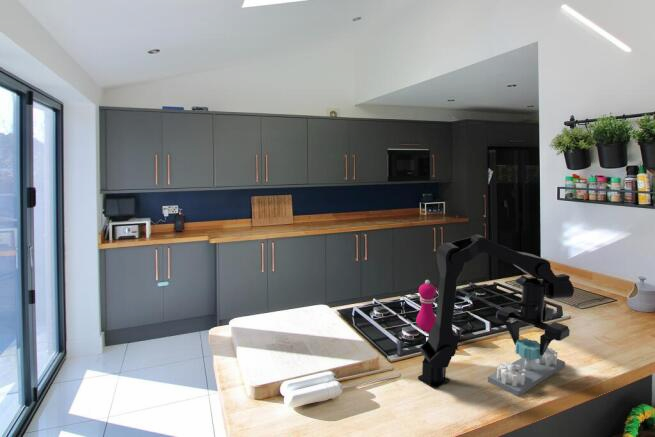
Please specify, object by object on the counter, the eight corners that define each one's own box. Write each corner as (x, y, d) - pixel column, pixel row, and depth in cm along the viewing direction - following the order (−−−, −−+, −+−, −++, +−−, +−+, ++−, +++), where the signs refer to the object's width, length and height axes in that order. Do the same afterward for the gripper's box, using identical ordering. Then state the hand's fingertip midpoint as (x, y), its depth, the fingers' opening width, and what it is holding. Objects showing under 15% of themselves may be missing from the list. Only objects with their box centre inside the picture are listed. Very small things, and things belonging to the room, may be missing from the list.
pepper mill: (436, 338, 141) (438, 283, 138) (416, 336, 143) (417, 282, 139) (435, 329, 148) (437, 277, 145) (415, 327, 150) (417, 276, 146)
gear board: (518, 396, 107) (519, 377, 106) (487, 381, 114) (488, 363, 113) (564, 366, 122) (566, 349, 121) (535, 354, 129) (536, 338, 128)
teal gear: (534, 362, 112) (535, 352, 112) (510, 352, 118) (510, 342, 118) (547, 355, 116) (548, 345, 116) (523, 345, 122) (524, 336, 122)
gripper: (581, 302, 111) (576, 354, 114) (517, 285, 126) (513, 331, 129) (561, 311, 105) (556, 367, 108) (496, 292, 120) (493, 341, 123)
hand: (528, 350), depth 117 cm, fingers closed on teal gear, 7 cm apart
